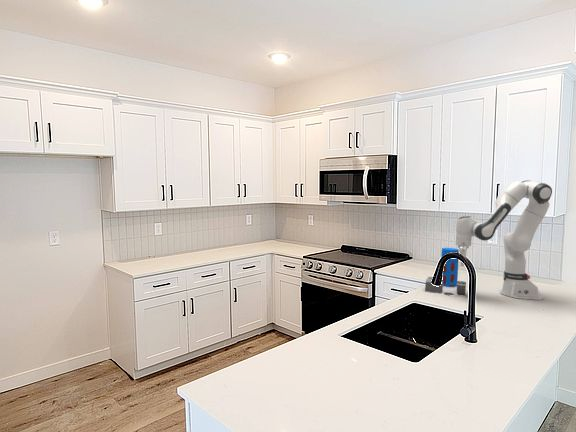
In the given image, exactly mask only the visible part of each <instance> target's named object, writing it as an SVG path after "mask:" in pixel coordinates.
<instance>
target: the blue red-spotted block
mask: <svg viewBox="0 0 576 432" xmlns="http://www.w3.org/2000/svg"><path fill="white" fill-rule="evenodd" d="M450 252H457V253H459V254H460V251H459V249H458V248H455V247H442V248H441V254H440V255H441V257H440V259H441V258H442V257H443V256H444V255H445V254H447V253H450ZM458 274H459V259H449V260H448V261H447V262H446V264H445V266H444V271H443V280H442V281H443V287H448V288H457V281H459V279H458V277H459V275H458Z"/></svg>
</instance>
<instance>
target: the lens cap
mask: <svg viewBox="0 0 576 432" xmlns="http://www.w3.org/2000/svg"><path fill="white" fill-rule="evenodd" d="M443 295H445V296H449V295H453V296H454V293H453V292H447V291H446V292H443Z"/></svg>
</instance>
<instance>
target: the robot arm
mask: <svg viewBox="0 0 576 432" xmlns="http://www.w3.org/2000/svg"><path fill="white" fill-rule="evenodd" d="M552 195H553V188H552V187H551V186H550V185H549V184H547V183H543V182H540V181H536V180H535V181H534V180H523V181H518V180H516V181H512V183H511V184H509V185H508V186H507V187H506V188H504V189H503V190H502V191H501V192H500V193H499V194H498V195H497V198H496V199H495V201H494V202H495V208H496V209H495V211H494V213H492V215H490V217H489V218H488V219H487V221H484V222H482V221H479V220H476V219H475V218H473V217H472V216H470V215H464V216H460V217H459V218H457V221H456V229H455V230H456V235H455V245H456V246H457V249H458V248H459V255H460V254H462V255H464V256H465V257H466V258H467V253H468V252H467V250H468V249H469V248H470V247H472V240H473V237H475V238H477V239H479V241H480V240H481V241H484V242H485V241H490V240H492V238H493V237H494V235H495V233H496V230H497V228H498V227H499V226H500V225H501V223H502V222H503V221H504V220H505V219H506V218H507V216H508V215H509V214H510V213H511V211H513V210H514V208H515V207H516V206H517V205H518V204H519V203H520V202H521V201H522V200H523V199H524V198H525V199H528V204H527V205H526V207H525V209H524V210H523V212H522V214H521V215H520V216H519V218H518V220H517V222H516V226H515V229H514V231H510V232H508V233H506V234H505V235H504V237H503V247H504V249H503V250H504V257H505V259H504V271H503V277H502V279H503V284H502V287H501V290H500V294H501V295H503V296H507V297H510V298H512V299H521V300H524V299H525V300H535V301H536V300H538V301H542V300H543V299H544V297H543V295H541V294H540V293H539V288H538V286H536V284H535V283H533V282H532V281H531V280H530V279H531V276H530V275H529V274H528V273H526V265H527V264H526V263H527V262H526V255H525V252H527V251H529V249H530V248H531V246H532V242H533V238H534V236H535V234H536V231H537V229H538V228H539V226H540V224H541V223H542V221H543V219H544V218H545V217H546V214H547V213H548V210H549V208H550V202H549V201H550V199H551V197H552ZM460 266H461V267H464V266H465V263H464V264H463V263H462V262H461V261H460Z"/></svg>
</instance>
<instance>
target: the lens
mask: <svg viewBox="0 0 576 432" xmlns="http://www.w3.org/2000/svg"><path fill="white" fill-rule="evenodd" d="M466 288H467V282H466V281H464V280H457V286H456V295H457V294H458V295H457V296H460V295H465V296H466V293H467V292H466V291H467V289H466Z"/></svg>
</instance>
